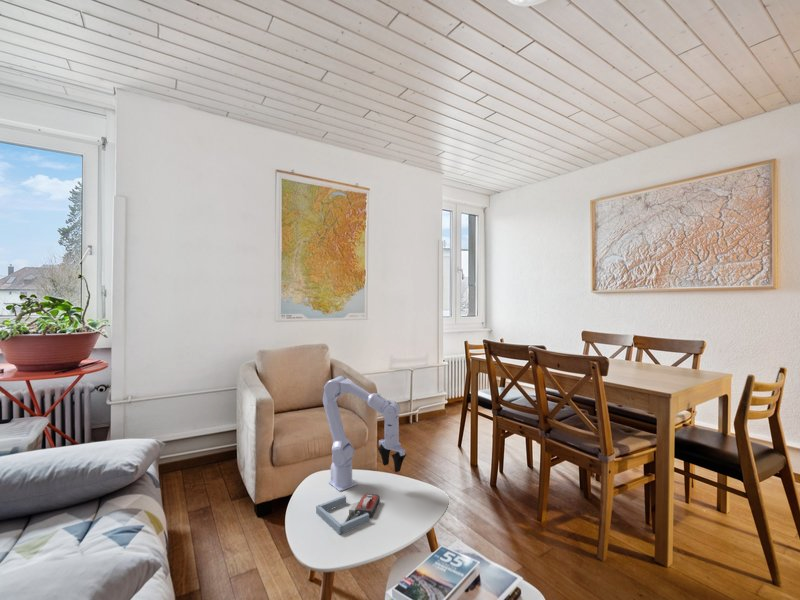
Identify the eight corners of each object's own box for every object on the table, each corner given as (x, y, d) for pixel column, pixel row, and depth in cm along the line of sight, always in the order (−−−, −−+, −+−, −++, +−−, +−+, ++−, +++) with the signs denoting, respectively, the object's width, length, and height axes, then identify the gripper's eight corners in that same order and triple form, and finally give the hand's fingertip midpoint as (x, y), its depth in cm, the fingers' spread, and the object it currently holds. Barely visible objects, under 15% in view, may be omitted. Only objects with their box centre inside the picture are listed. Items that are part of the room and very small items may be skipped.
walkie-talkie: (359, 498, 146) (341, 529, 127) (359, 487, 146) (340, 516, 127) (381, 501, 145) (366, 532, 125) (381, 489, 145) (366, 519, 125)
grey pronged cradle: (316, 513, 136) (316, 506, 136) (344, 502, 143) (344, 495, 143) (339, 534, 123) (339, 527, 123) (369, 521, 130) (369, 514, 130)
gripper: (411, 436, 148) (411, 471, 148) (388, 426, 159) (388, 459, 159) (397, 440, 143) (397, 476, 143) (374, 430, 154) (374, 464, 154)
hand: (391, 468), depth 151 cm, fingers open, 7 cm apart
